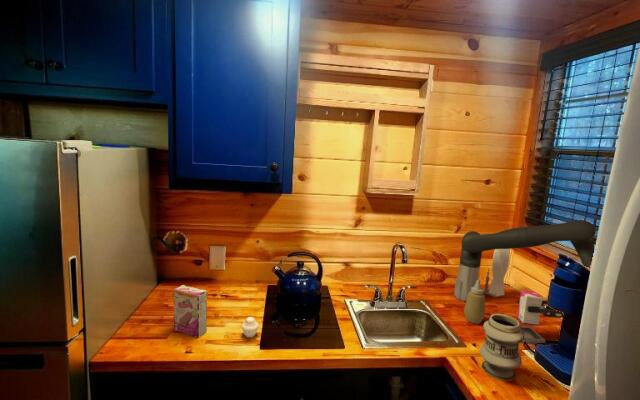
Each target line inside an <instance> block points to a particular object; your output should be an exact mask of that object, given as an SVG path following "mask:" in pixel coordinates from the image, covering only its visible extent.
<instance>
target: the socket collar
mask: <svg viewBox="0 0 640 400" xmlns="http://www.w3.org/2000/svg"><path fill="white" fill-rule="evenodd" d="M520 328H521V329H522V331H523V333H524V340H523V341H522V342H521V343H523V344H536V345H538V344H537V343H545V344H546V339H545V338H543V337H542V336H541V335H540V334H539V333H538V332H537V331H536V330H535V329H533V328H532V326H521V325H520ZM524 342H526V343H524ZM521 343H520V344H521Z"/></svg>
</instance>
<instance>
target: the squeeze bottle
mask: <svg viewBox="0 0 640 400" xmlns="http://www.w3.org/2000/svg"><path fill="white" fill-rule="evenodd" d="M481 285H482V284H481V280H480V279H478V280H477V281H476V284H475V286H474V287H472V288H471V291H470V292H469V293H468V296H467V300H466V301H465V305H464V309H463V312H464V315H465V320H466V321H468V322H469V323H471V324H477V325H479V324H481V323H482V321H483V319H484V318H485V315H486V295H485V293H484V292H483V291H484V289H483V288H482V287H481Z"/></svg>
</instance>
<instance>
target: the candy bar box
mask: <svg viewBox="0 0 640 400" xmlns="http://www.w3.org/2000/svg"><path fill="white" fill-rule="evenodd" d="M207 298H208V291H207V290H206V289H201V288H196V287H192V286H189V285H184V284H182V285H180V286H178V287H175V288H174V289H173V330H174V332H176V331H177V333H181V334H183V333H184V335H187V334H188V335H187V336H191V335H192V337H194V336H196V337H195V338H198V337H199V336H200V337H201V336H203V335H204V334H205V333H206V331H207V330H208V328H207V327H208V326H207V323H208V321H207V315H208V314H207V313H208V312H207V311H208V307H207V306H208V303H207V302H208V301H207ZM207 332H208V331H207ZM203 333H204V334H203ZM202 334H203V335H202ZM200 337H199V338H200Z"/></svg>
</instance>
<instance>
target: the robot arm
mask: <svg viewBox="0 0 640 400" xmlns="http://www.w3.org/2000/svg"><path fill="white" fill-rule="evenodd" d="M595 235H596V227H595V225H594V224H593V223H592V222H590V221H588V220H584V219H577V220H570V221H567V222H560V223H556V224H547V225H544V224H543V225H533V226H521V227H512V228H508V229H505V230H502V231H498V232H494V233H487V234H486V233H484V234H483V233H482V234H481V233H479V232H477V231H474V230H471V231H468V232H466V233H465V234H464V235H463V237H462V239H461V252H460V257H459V264H458V265H459V266H458V274H457V276H456V278H455V285H454V294H453V295H454V296H455V298H456V299H457V300H458V301H463V302H466V300H467V296H468V293H469V292H470V291H471V288H472V287H474V286H475V284H476V281H477V280H480V279H479V277H480V272H481V271H480V269H481V263H482V255H483V252H486V251H491V250H492V251H495V249H510V250H512V249H514V250H515V249H526V248H536V247H539V246H544V245H547V244H551V243H555V242H570V243H571V245H572V246H573V248H574V249H575V252H576V253H577V255H578V256H579V259H580V261H581V264H582V266H583V265H584V266H586V267H589V268H590V265H591V261H592V257H593V253H594V247H595V243H594V244H593V243H592V242H591V240H592V239H593V240H594V237H595ZM547 300H548V299H542V305H541V307H535V306H528V309H527V311H528V312H531V313H539V314H540V315H542V316H543V317H547V318H556V319H561V318H563V313H562V312H559V311H556V310H554V309H552V308H550V307H549V306H548V305H547ZM517 303H518V304H519V303H520V297H519V298H518V300H517Z"/></svg>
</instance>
